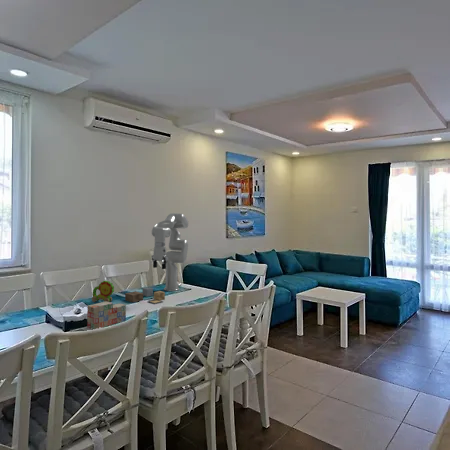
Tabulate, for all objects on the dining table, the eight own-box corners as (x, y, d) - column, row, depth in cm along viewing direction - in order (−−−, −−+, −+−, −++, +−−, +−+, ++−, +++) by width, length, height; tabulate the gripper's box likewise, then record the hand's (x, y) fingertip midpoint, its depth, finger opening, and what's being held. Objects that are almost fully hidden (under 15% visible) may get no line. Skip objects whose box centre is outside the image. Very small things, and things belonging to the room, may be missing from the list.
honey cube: (159, 298, 267) (159, 290, 267) (164, 299, 263) (164, 292, 263) (153, 299, 263) (154, 292, 262) (158, 300, 259) (158, 293, 259)
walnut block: (135, 298, 265) (135, 291, 265) (143, 300, 260) (143, 293, 259) (125, 300, 258) (125, 293, 258) (132, 302, 253) (132, 295, 253)
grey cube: (148, 294, 278) (148, 287, 278) (152, 295, 275) (152, 288, 275) (142, 295, 274) (142, 288, 274) (147, 296, 271) (147, 289, 270)
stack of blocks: (119, 318, 216) (119, 298, 215) (125, 320, 212) (126, 299, 211) (87, 327, 198) (87, 305, 198) (93, 329, 195) (93, 307, 194)
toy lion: (91, 302, 252) (91, 280, 251) (95, 300, 257) (96, 279, 256) (110, 304, 247) (111, 282, 247) (115, 302, 253) (115, 280, 252)
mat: (156, 300, 261) (156, 299, 261) (163, 302, 255) (163, 301, 255) (147, 302, 254) (147, 301, 254) (154, 304, 249) (154, 303, 249)
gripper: (171, 245, 259) (171, 269, 259) (156, 243, 270) (155, 266, 270) (163, 245, 253) (163, 270, 254) (148, 244, 264) (147, 267, 265)
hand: (159, 268), depth 262 cm, fingers open, 9 cm apart
